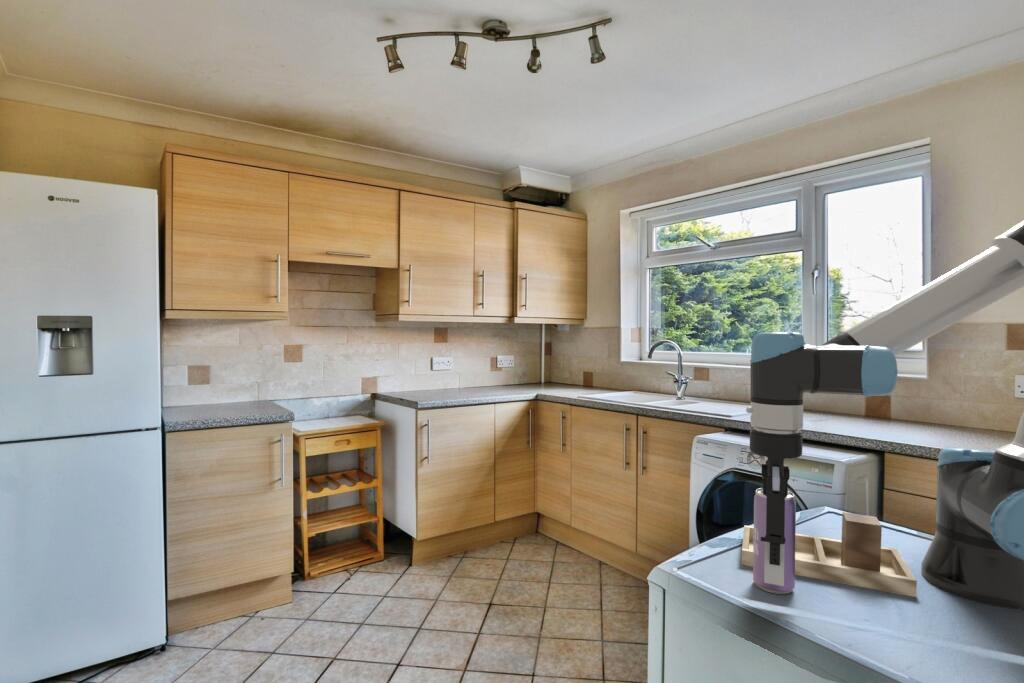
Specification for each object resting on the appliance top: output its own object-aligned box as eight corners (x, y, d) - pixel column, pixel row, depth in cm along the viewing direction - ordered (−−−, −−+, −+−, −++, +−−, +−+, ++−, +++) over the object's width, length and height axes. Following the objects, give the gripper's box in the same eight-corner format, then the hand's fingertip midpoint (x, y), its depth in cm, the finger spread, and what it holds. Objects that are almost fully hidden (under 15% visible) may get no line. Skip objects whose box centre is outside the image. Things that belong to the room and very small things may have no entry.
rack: (896, 567, 97) (896, 549, 97) (916, 601, 84) (916, 580, 84) (743, 541, 107) (744, 525, 107) (741, 568, 95) (741, 550, 95)
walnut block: (874, 568, 94) (876, 516, 94) (879, 579, 90) (881, 525, 90) (840, 562, 97) (842, 512, 96) (844, 573, 92) (846, 520, 92)
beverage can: (799, 597, 83) (801, 499, 83) (757, 593, 84) (759, 496, 84) (788, 580, 89) (789, 488, 88) (749, 576, 90) (750, 486, 90)
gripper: (751, 419, 96) (749, 549, 96) (748, 437, 79) (746, 595, 79) (799, 423, 93) (797, 557, 93) (806, 442, 76) (804, 606, 76)
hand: (773, 574), depth 86 cm, fingers closed on beverage can, 6 cm apart
